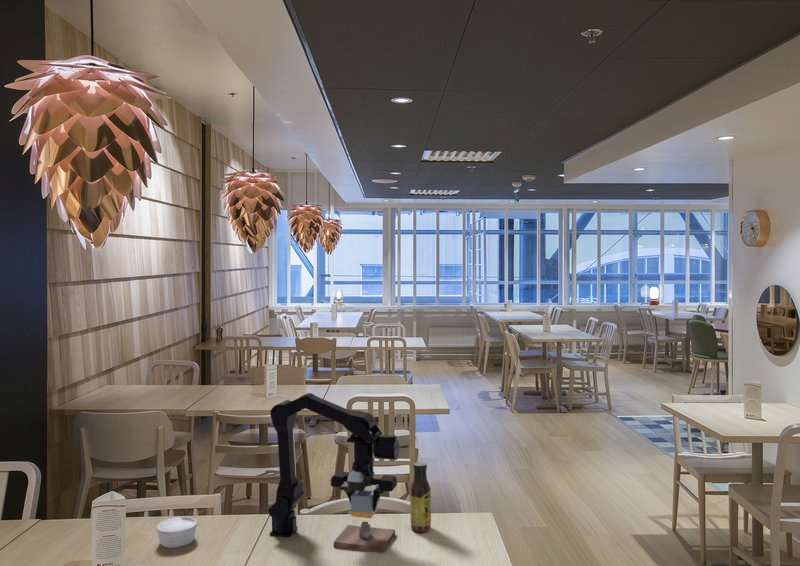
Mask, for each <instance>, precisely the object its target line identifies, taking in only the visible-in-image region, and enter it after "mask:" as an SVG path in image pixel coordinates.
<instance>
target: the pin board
mask: <svg viewBox="0 0 800 566" xmlns="http://www.w3.org/2000/svg"><path fill="white" fill-rule="evenodd" d="M395 536H396V529H392V528H391V529H390V528H381V527H373V526H372V527H371V523H369V522H368V521H362V522H361V523H360V525H352V524H347V525H346V527H344V529H343V530H342V531H341V532H340V534H339V535H337V537H336V539H334V541H333V548H339V549H348V550H356V549H357V550H356V551H365V550H367V552H374V551H376V552H378V553H385V552H386V550H387V548H388V547H389V545H390V544H391V543H392V540H393V538H394V537H395Z"/></svg>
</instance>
